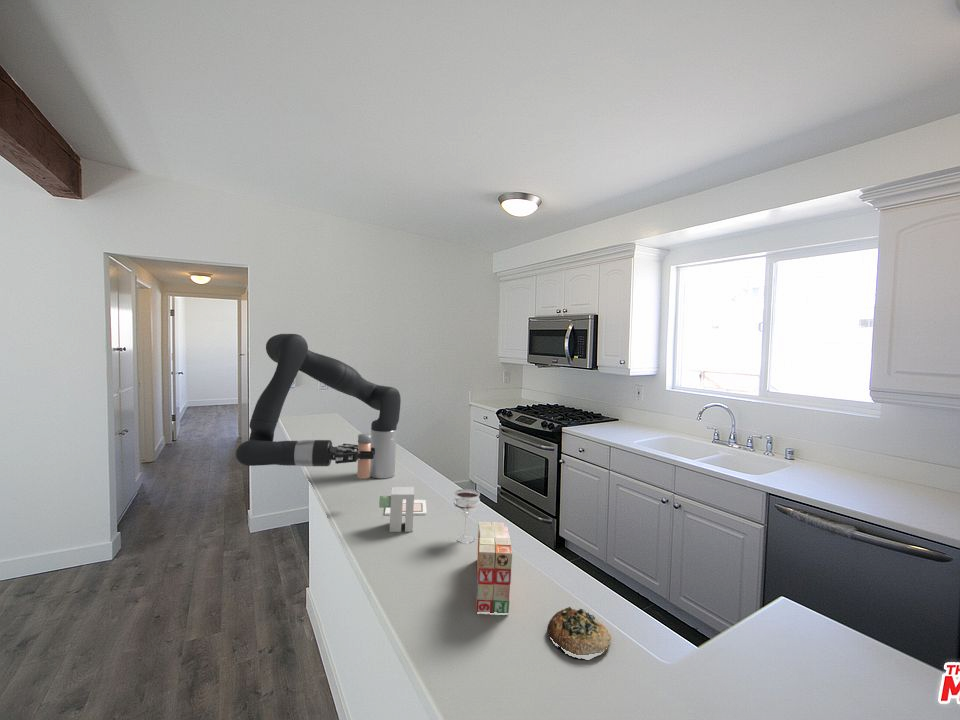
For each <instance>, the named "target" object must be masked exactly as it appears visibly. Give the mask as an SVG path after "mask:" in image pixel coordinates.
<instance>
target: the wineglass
mask: <svg viewBox="0 0 960 720" xmlns="http://www.w3.org/2000/svg"><path fill="white" fill-rule="evenodd" d="M454 495H455V496H454V499H453V506H454V508H456V510H457V512H459V513H461V514H462V515H463V516H464V534H461V535H458V536H456V537H455V541H456V540H458V541H460V542H463V543H462V544H470V543H469V542H472V541H474V542H475V540H474V539H475V537H474V536H472V535H468V534H467V530H468V529H467V528H468V516H469V515H471V514H473V513H474V512H475V511H476V510H478V509H479V507H480V503H481V499H480V496H481V493H480V492H479V491H478V490H475V489H472V488H471V489H470V488H461V489H458V490H455V491H454ZM473 537H474V538H473ZM460 542H459V543H460ZM472 543H473V542H472Z"/></svg>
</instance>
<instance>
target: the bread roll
mask: <svg viewBox="0 0 960 720" xmlns="http://www.w3.org/2000/svg"><path fill="white" fill-rule="evenodd" d="M547 631H548V632H547ZM546 632H547V635H548V634H549V636H550V637H551V638H552V639H553V641H554V642H555V643H557V644H558V645H559V646H560V647H562V648H563V649H565V650H566V651H569V652H571V653H573V654H576V655H589V654H595V653H601V652H603V651H605V652H606V650H607V649H608V647H609V646H610V643H611V639H612V635H611V634H610V632H609V630H608V629H607V627H606V626H605V625H604V624H602V623H601V622H600V621H599V620H598V619H596V617H595V616H594V614H593V615H592V614H590V612H586V610H585V609H582V608H579V609H578V610H577V609H576V608H575V609H574V608H573V609H572V607H571V606H568V607H566V608H564V609H563V608H562V609H561V610H559V611H557V612H556V613H555V614H553V616H552V617H551V619H550V620H549V622H548V624H547V627H546ZM549 636H548V637H549ZM608 645H609V646H608ZM606 648H607V649H606ZM605 649H606V650H605Z"/></svg>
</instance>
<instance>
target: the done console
mask: <svg viewBox="0 0 960 720" xmlns="http://www.w3.org/2000/svg"><path fill="white" fill-rule="evenodd" d="M390 496H391V508H390V515H389V516H390V518H389V533H400V532H402V526H403V525H402V522H403V515H402V504H403V500H406V515H405V519H404V522H405V523H404V524H405V525H404V532H405V533H408V532H409V533H411V532H414V530H413V527H414V515H413V509H414V500H415V487H414V486H392V488H391V492H390Z"/></svg>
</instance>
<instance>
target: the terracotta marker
mask: <svg viewBox="0 0 960 720" xmlns="http://www.w3.org/2000/svg"><path fill="white" fill-rule="evenodd" d="M357 445H358V451H360V453H361V451H371V433H360V434H358V435H357ZM356 473H357V474H356V477H357V479H363V480H365V479H369V478H370V477H371V476H370V459H360V460H357V472H356Z"/></svg>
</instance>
